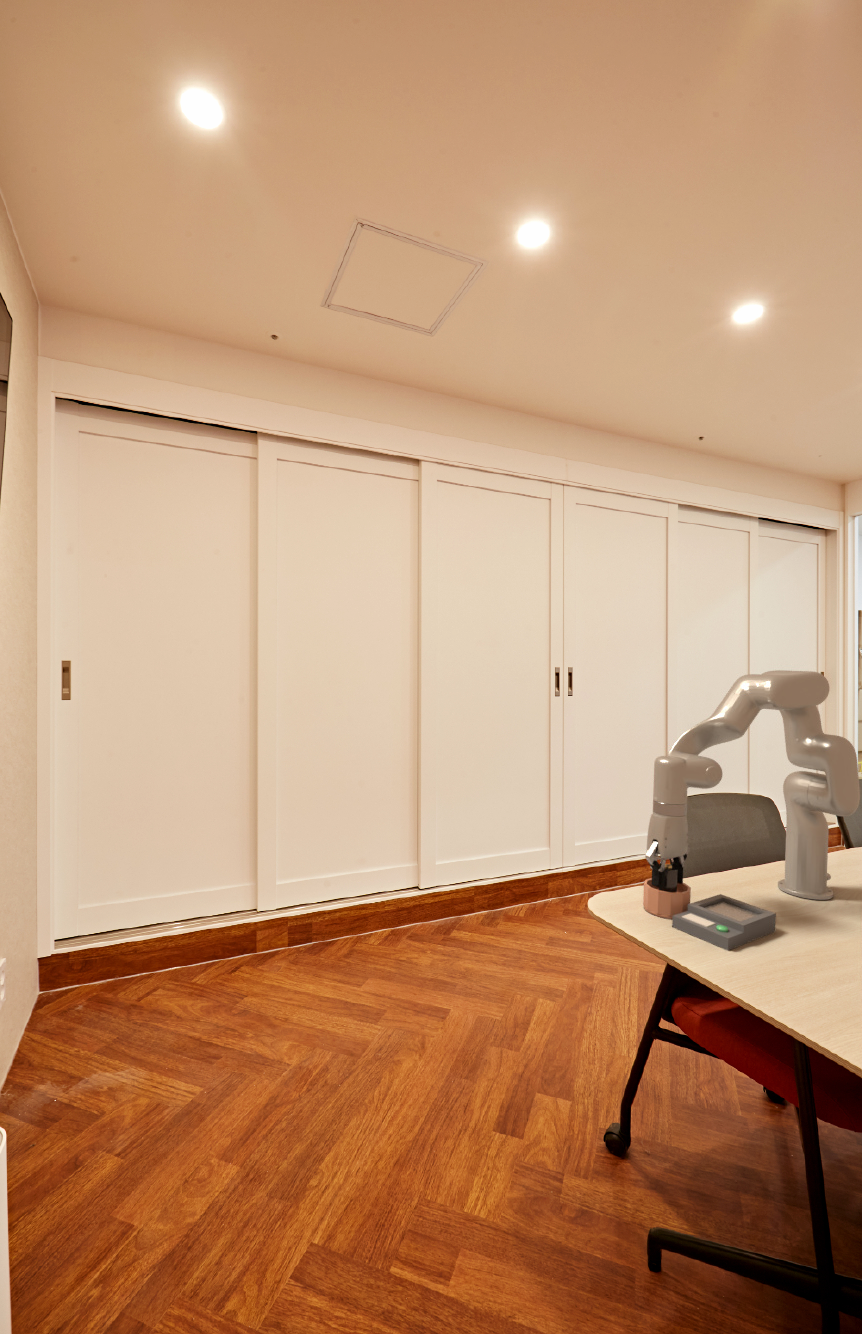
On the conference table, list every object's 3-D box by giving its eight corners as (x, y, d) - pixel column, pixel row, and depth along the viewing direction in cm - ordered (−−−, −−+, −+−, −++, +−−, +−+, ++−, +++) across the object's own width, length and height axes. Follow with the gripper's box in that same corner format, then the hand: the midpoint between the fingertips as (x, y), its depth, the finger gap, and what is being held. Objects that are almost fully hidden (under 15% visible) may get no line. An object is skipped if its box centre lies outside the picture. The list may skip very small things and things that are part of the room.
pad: (723, 905, 144) (723, 901, 144) (762, 919, 137) (762, 915, 137) (700, 913, 139) (700, 909, 139) (739, 928, 132) (739, 924, 132)
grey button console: (719, 910, 147) (720, 894, 147) (775, 931, 136) (775, 913, 136) (672, 926, 137) (672, 908, 137) (727, 950, 126) (728, 930, 126)
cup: (661, 899, 153) (662, 875, 153) (698, 913, 145) (699, 888, 145) (634, 907, 147) (635, 882, 147) (672, 922, 139) (672, 896, 139)
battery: (665, 902, 149) (666, 861, 149) (679, 908, 146) (681, 866, 145) (654, 905, 147) (656, 864, 147) (669, 911, 143) (670, 869, 143)
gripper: (677, 802, 154) (675, 873, 154) (632, 809, 144) (630, 885, 144) (705, 808, 148) (703, 883, 148) (660, 816, 138) (657, 896, 138)
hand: (667, 883), depth 146 cm, fingers open, 6 cm apart
